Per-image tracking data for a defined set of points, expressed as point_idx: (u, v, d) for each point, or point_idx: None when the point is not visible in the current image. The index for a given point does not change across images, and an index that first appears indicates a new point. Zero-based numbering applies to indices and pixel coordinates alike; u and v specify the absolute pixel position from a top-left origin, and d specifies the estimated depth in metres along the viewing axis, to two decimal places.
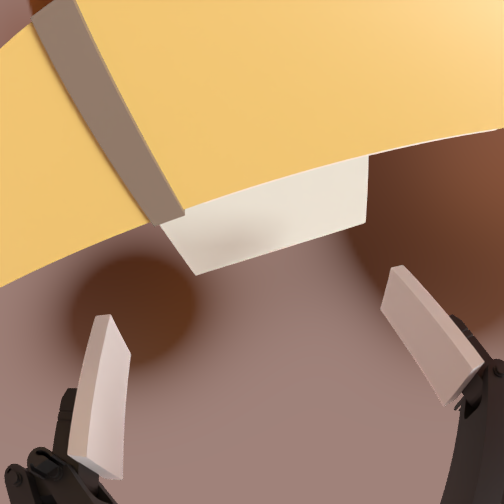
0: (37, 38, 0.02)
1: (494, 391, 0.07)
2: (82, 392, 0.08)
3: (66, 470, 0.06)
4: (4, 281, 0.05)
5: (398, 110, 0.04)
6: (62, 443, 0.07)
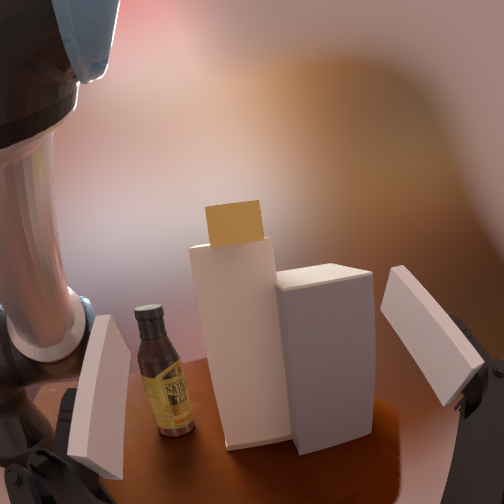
0: None
1: (494, 391, 0.07)
2: (82, 392, 0.08)
3: (66, 470, 0.06)
4: None
5: None
6: (62, 443, 0.07)
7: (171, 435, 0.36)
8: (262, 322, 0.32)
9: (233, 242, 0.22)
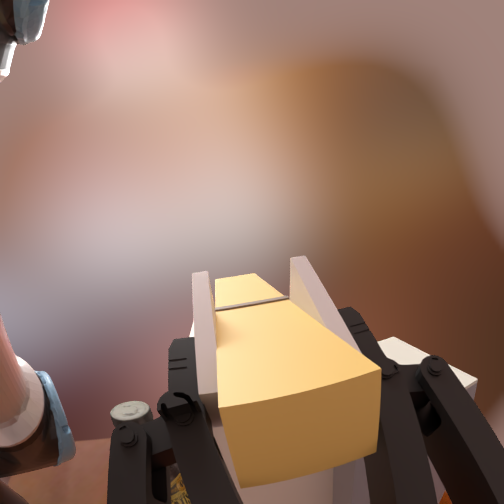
0: (220, 310, 0.15)
1: (385, 398, 0.08)
2: (201, 335, 0.10)
3: (198, 418, 0.08)
4: (312, 319, 0.11)
5: (261, 289, 0.20)
6: None
7: None
8: None
9: (301, 474, 0.06)
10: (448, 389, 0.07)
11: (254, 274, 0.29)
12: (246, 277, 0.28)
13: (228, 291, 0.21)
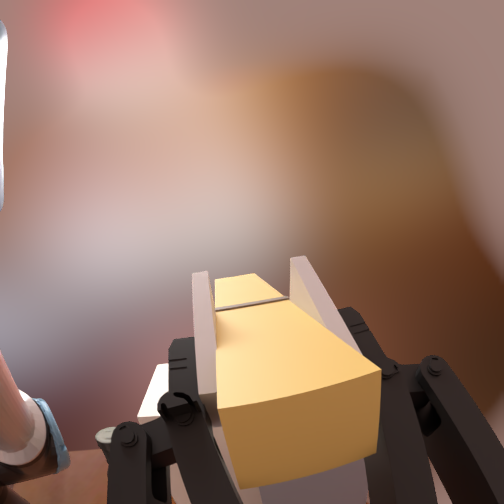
0: (220, 310, 0.15)
1: (385, 398, 0.08)
2: (201, 335, 0.10)
3: (198, 418, 0.08)
4: (312, 320, 0.11)
5: (261, 289, 0.20)
6: None
7: None
8: (235, 481, 0.21)
9: (301, 475, 0.06)
10: (448, 389, 0.07)
11: (254, 274, 0.29)
12: (246, 277, 0.28)
13: (228, 291, 0.21)
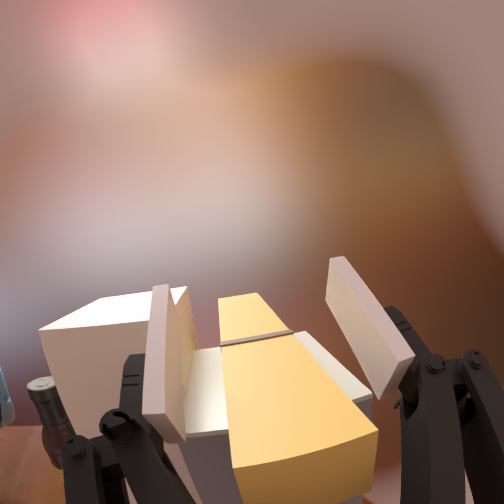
0: (226, 345, 0.15)
1: (432, 390, 0.07)
2: (152, 353, 0.10)
3: (141, 435, 0.07)
4: (316, 364, 0.12)
5: (265, 316, 0.20)
6: (129, 408, 0.08)
7: None
8: (168, 450, 0.16)
9: None
10: (485, 382, 0.07)
11: (257, 294, 0.29)
12: (249, 298, 0.28)
13: (232, 317, 0.21)
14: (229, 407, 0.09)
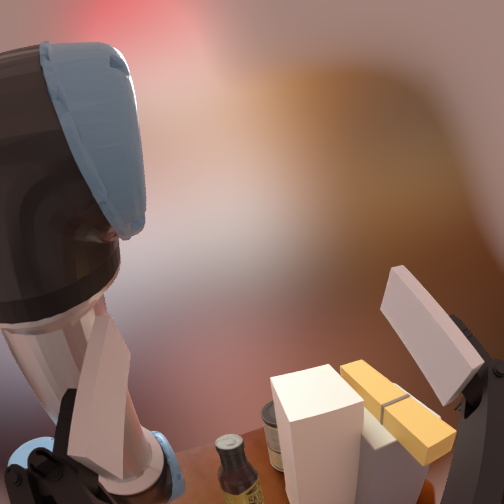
0: (386, 406, 0.29)
1: (494, 391, 0.07)
2: (82, 392, 0.08)
3: (66, 470, 0.06)
4: (429, 411, 0.25)
5: (387, 384, 0.34)
6: (62, 443, 0.07)
7: None
8: (345, 459, 0.29)
9: (436, 458, 0.20)
10: None
11: (363, 361, 0.43)
12: (362, 366, 0.41)
13: (369, 385, 0.35)
14: (412, 432, 0.23)
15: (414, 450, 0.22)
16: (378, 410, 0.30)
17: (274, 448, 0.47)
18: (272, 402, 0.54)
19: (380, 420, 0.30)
